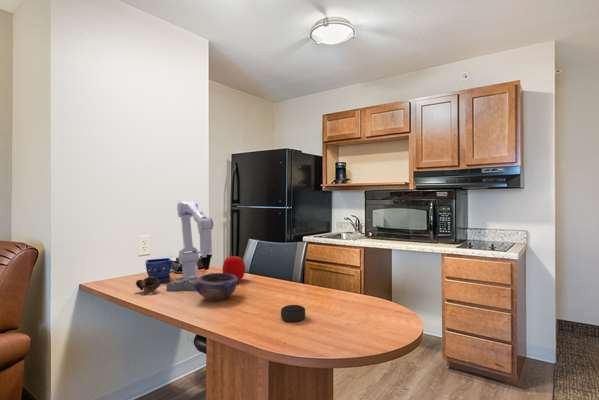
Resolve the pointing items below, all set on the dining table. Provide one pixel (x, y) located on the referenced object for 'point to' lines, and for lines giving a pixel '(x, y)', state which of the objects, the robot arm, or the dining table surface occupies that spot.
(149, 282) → the brown bird figurine
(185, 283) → the panel
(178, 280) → the peach ball
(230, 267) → the tomato
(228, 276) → the bowl
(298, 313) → the smart speaker
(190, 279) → the slate button
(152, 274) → the flower pot
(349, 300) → the dining table surface
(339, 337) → the dining table surface
